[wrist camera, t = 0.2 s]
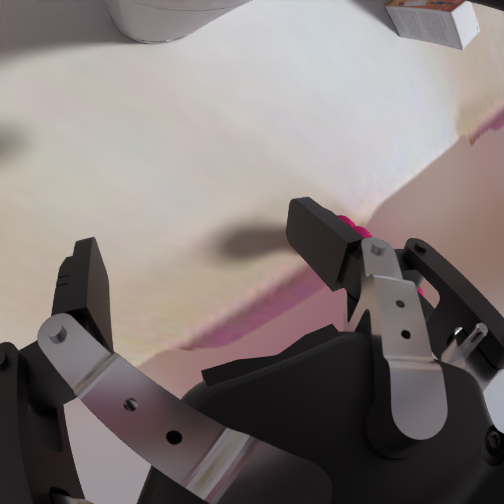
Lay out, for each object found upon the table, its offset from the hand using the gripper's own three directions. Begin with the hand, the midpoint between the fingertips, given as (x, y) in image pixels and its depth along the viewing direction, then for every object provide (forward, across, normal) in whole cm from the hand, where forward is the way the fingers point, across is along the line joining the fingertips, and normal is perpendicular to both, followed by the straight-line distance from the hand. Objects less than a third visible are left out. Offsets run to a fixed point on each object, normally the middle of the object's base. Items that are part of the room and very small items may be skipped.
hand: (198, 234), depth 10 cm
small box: (+17, -32, -21) cm, 41 cm away
